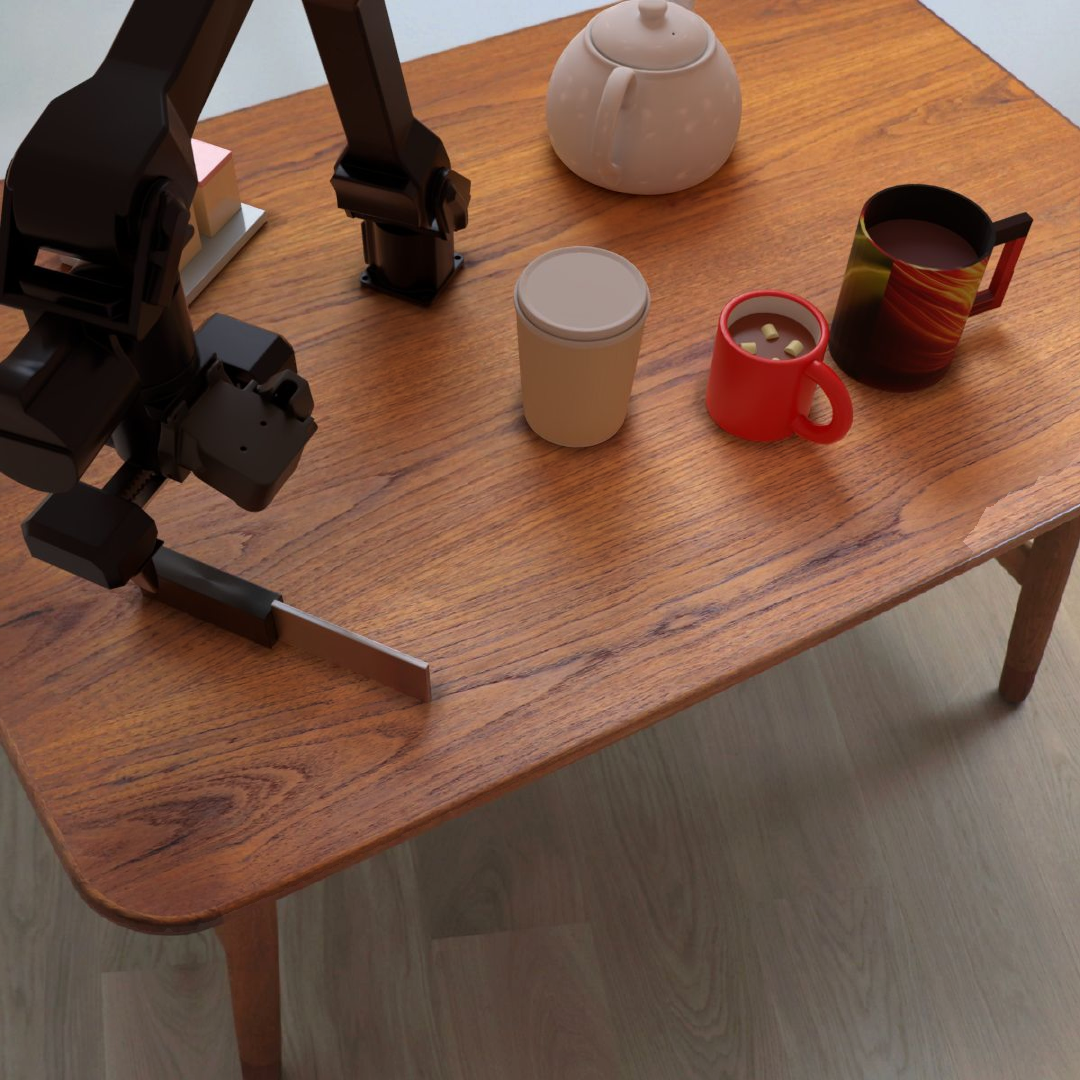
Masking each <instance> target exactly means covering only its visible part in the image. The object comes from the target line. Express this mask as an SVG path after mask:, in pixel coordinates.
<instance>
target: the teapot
mask: <svg viewBox="0 0 1080 1080" xmlns="http://www.w3.org/2000/svg"><path fill="white" fill-rule="evenodd" d="M695 8H696V7H695V0H626V1H625V0H624V1H622V2H619V3H617V4H615V5H613V6H610V7H608V8H606V9H603V10H602V11H600V12H598V13H597V14H596V15H595V16H593V17H592V18H591V19H590V20H589V22H588V23H587V25H586V26H585V27H584V28H582V29H581V30H580V31H579V32H578V33H577V34H576V35H575V36H574V37H573V38H572V39H571V41H570V42H569V43H568V44H567V46H566V47H565V48H564V50H563V51H562V53H561V55H560V56H559V58H558V60H557V61H556V63H555V66H554V68H553V71H552V73H551V76H550V78H549V83H548V86H547V91H546V98H545V99H546V100H545V124H546V130H547V135H548V139H549V142H550V144H551V146H552V149H553V151H554V152H555V154H556V155H557V157H558V158H559V160H560V161H561V162H562V163H563V164H564V165H565V166H566V167H567V168H568V169H569V170H570V171H571V172H573V173H574V174H575V175H576V176H578V177H580V178H581V179H583V180H584V181H587V182H588V183H591V184H593V185H595V186H597V187H602V188H604V189H607V190H610V191H614V192H619V193H624V194H631V195H641V196H642V195H645V196H646V195H647V196H649V195H650V196H651V195H664V194H672V193H677V192H680V191H684V190H687V189H689V188H693V187H695V186H697V185H699V184H702V183H703V182H705V181H706V180H708V179H709V178H711V177H712V176H713V175H714V174H716V173H717V172H718V171H719V170H720V169H721V168H722V166H723V165H724V164H725V163H726V162H727V160H728V158H729V157H730V156H731V153H732V151H733V149H734V147H735V145H736V141H737V139H738V135H739V132H740V128H741V122H742V110H743V99H742V97H743V95H742V90H741V84H740V79H739V77H738V73H737V70H736V67H735V65H734V63H733V60H732V59H731V57H730V55H729V53H728V52H727V49H726V48H725V47H724V45H723V44H722V43H721V41H720V40H719V38H717V36H716V34H715V31H714V30H713V28H712V26H711V25H709V23H708V22H707V21H706V20H704V18H702V17H701V16H700V15H699V14H697V13H696V11H695Z"/></svg>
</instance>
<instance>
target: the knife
mask: <svg viewBox="0 0 1080 1080" xmlns="http://www.w3.org/2000/svg"><path fill="white" fill-rule="evenodd" d="M153 560H154V564H155V567H156V571H157V574H158V582H159V589H158V590H157V591H156V593H153V592H151V591H148V590H146V589H144V588H142V587H140V586H139V585H138V587H139V588H140V592H141V595H142V596H144V597H146V598H149V599H152V600H153V601H155V602H159V603H161V604H163V605H166V606H167V607H170V608H173V609H175V610H177V611H180V612H182V613H184V614H187V615H189V616H191V617H193V618H196V619H198V620H201V621H203V622H205V623H207V624H211V625H212V626H215V627H217V628H220V629H222V630H224V631H227V632H229V633H231V634H233V635H236V636H238V637H241V638H243V639H244V640H248V641H250V642H252V643H255V644H257V645H259V646H262V647H264V648H266V649H269V650H272V649H273V648H274V646H275V645H276V644H277V642H278V641H280V642H282V643H283V644H284V643H285V644H287V645H289V646H291V647H294V648H296V649H298V650H301V651H304V652H306V653H308V654H310V655H313V656H315V657H318V658H319V659H322V660H325V661H327V662H330V663H332V664H335V665H337V666H338V667H342V668H344V669H346V670H349V671H351V672H352V673H356V674H358V675H360V676H363V677H365V678H367V679H370V680H372V681H375V682H376V683H379V684H381V685H384V686H387V687H388V688H391V689H393V690H395V691H398V692H401V693H403V694H405V695H407V696H410V697H412V698H415V699H416V700H418V701H422V702H425V703H426V704H430V701H431V699H432V685H431V671H430V670H431V669H430V663H428V662H425V661H423V660H421V659H419V658H417V657H414V656H411V655H409V654H407V653H405V652H402V651H399V650H397V649H395V648H392V647H390V646H388V645H386V644H383V643H381V642H378V641H376V640H373V639H372V638H369V637H366V636H363V635H361V634H358V633H356V632H354V631H352V630H349V629H347V628H344V627H342V626H339V625H337V624H335V623H332V622H330V621H327V620H325V619H322V618H320V617H317V616H316V615H313V614H310V613H308V612H305V611H303V610H301V609H299V608H296V607H294V606H291V605H289V604H286V603H285V602H284V597H283V595H282V594H281V593H279V592H275V591H274V590H271V589H268V588H266V587H264V586H262V585H259V584H256V583H255V582H251V581H249V580H246V579H245V578H242V577H240V576H237V575H234V574H232V573H230V572H228V571H225V570H223V569H221V568H218V567H216V566H213V565H211V564H208V563H206V562H203V561H201V560H198V559H196V558H193V557H191V556H189V555H187V554H184V553H181V552H180V551H176V550H175V549H172V548H169V547H167V546H164V545H162V546H161V548H160V549H159V550H158V551H157V552H156V554H155V555H154V556H153Z"/></svg>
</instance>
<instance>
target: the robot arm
mask: <svg viewBox="0 0 1080 1080" xmlns="http://www.w3.org/2000/svg"><path fill="white" fill-rule="evenodd" d="M254 1H255V0H133V1H132V3H131V5H130V7H129V9H128V11H127V13H126V15H125V17H124V18H123V21H122V23H121V25H120V27H119V29H118V31H117V33H116V34H115V37H114V39H113V41H112V43H111V45H110V47H109V49H108V51H107V53H106V55H105V57H104V59H103V60H102V62H101V63H100V65H99V66H98V68H97V69H96V70H95V72H94V74H93V75H92V76H91V77H88V78H87V79H85V80H84V81H82V82H80V83H78V84H77V85H75V86H73V87H72V88H70V89H68V90H65V91H64V92H63V93H61V94H59V95H58V96H56V97H54V98H53V99H51V100H50V101H49V103H47V105H46V107H45V108H44V109H43V111H42V113H41V114H40V115H39V117H38V118H37V119H36V121H35V122H34V123H33V125H32V127H31V128H30V130H29V131H28V132H27V134H26V135H25V137H24V138H23V139H22V141H21V142H20V143H19V146H18V147H17V149H16V150H15V152H14V154H13V157H12V158H11V159H10V162H9V163H8V166H7V169H6V172H5V176H4V181H3V183H4V184H3V190H2V191H3V192H2V199H1V211H0V306H4V307H8V308H11V309H15V310H19V311H22V312H23V315H24V317H25V320H26V323H27V325H28V331H27V332H26V334H25V335H24V336H23V337H22V338H21V339H20V341H19V342H18V343H17V344H16V346H15V347H14V348H13V350H11V352H10V353H9V354H8V355H7V356H6V357H5V358H4V359H3V360H1V361H0V473H1V474H2V475H4V476H6V477H7V478H9V479H10V480H12V481H14V482H16V483H18V484H19V485H22V486H24V487H27V488H29V489H32V490H34V491H37V492H42V493H47V494H46V496H45V497H44V498H43V499H42V500H41V501H40V502H39V503H38V504H37V506H36V507H34V509H33V510H32V511H31V512H30V513H29V515H27V516H26V518H24V519H23V521H22V522H21V523H20V529H21V533H22V537H23V540H24V542H25V545H26V547H27V549H28V552H29V554H30V556H31V557H32V558H34V559H36V560H39V561H41V562H44V563H46V564H48V565H50V566H53V567H55V568H58V569H60V570H62V571H65V572H66V573H69V574H71V575H74V576H76V577H79V578H81V579H84V580H86V581H88V582H90V583H93V584H95V585H97V586H99V587H102V588H104V589H107V590H109V591H111V590H115V589H119V588H123V587H125V586H127V584H128V583H129V582H130V581H131V582H133V583H134V584H136V585H137V586H138V587H139V586H140V587H142V588H144V589H146V590H148V591H151V592H153V593H156V591H157V590H158V589H159V582H158V574H157V571H156V567H155V564H154V560H153V556H154V555H155V554H156V552H157V551H158V550H159V549H160V548H161V546H164V544H165V541H164V540H163V539H161V538H158V535H159V531H158V527H157V524H156V521H155V520H154V518H153V517H152V516H151V515H149V514H148V513H147V512H146V511H145V510H146V509H147V508H148V506H149V505H150V504H151V503H152V502H153V501H154V499H155V498H156V497H157V496H158V494H159V493H160V492H161V491H162V490H163V488H164V487H166V486H167V484H168V482H169V481H170V480H171V481H174V482H177V483H179V484H183V483H184V481H186V480H187V478H188V477H189V475H190V474H191V473H192V474H193V475H194V476H195V477H196V479H198V480H200V481H201V482H203V483H204V484H206V485H208V486H209V487H210V488H212V489H214V490H215V491H217V492H218V493H220V494H221V495H223V496H224V497H227V498H228V499H229V500H231V501H232V502H234V503H235V505H236V506H237V507H239V508H241V510H245V511H247V512H250V513H259V512H262V511H264V510H266V509H267V508H268V507H269V505H270V504H271V503H272V502H273V500H274V499H275V498H276V496H277V494H278V493H279V492H280V490H281V489H282V488H283V487H284V485H285V484H286V483H287V481H288V480H289V479H290V477H291V476H293V474H294V473H295V472H296V470H297V468H298V465H299V463H300V461H301V457H302V455H303V452H304V450H305V447H306V446H307V444H308V443H309V442H310V440H311V439H312V437H313V436H314V435H315V433H316V432H317V431H318V429H319V426H318V424H317V422H316V421H315V417H313V416H312V414H313V411H314V409H315V401H314V398H313V394H312V391H311V387H310V384H309V381H308V380H307V379H306V378H304V377H303V376H301V375H299V372H298V366H297V365H298V364H297V361H296V360H297V359H296V353H295V349H294V348H293V345H292V344H291V343H290V342H289V341H288V340H287V338H286V337H285V336H284V335H283V334H280V333H278V332H275V331H273V330H269V329H266V328H265V327H261V326H259V325H256V324H253V323H251V322H247V321H245V320H242V319H239V318H236V317H233V316H230V315H228V314H224V313H220V312H215V313H213V314H211V315H210V316H208V317H207V318H206V319H204V321H202V323H201V324H200V325H199V326H198V327H197V328H196V329H195V330H194V326H193V322H192V318H191V314H190V310H189V305H188V306H187V302H186V297H185V293H184V289H183V285H182V281H181V277H180V273H179V263H180V259H181V255H182V251H183V249H184V248H185V247H186V245H187V244H188V243H189V241H190V240H191V239H192V237H193V236H194V233H195V229H194V226H193V225H192V224H189V220H190V217H191V213H190V207H191V204H192V201H193V198H194V195H195V192H196V190H197V186H198V176H197V171H196V165H195V160H194V155H193V149H192V144H191V138H193V135H194V133H195V130H196V127H197V125H198V121H199V119H200V116H201V114H202V112H203V109H204V108H205V106H206V104H207V101H208V99H209V97H210V95H211V93H212V90H213V89H214V87H215V84H216V82H217V80H218V78H219V76H220V73H221V71H222V69H223V67H224V65H225V63H226V61H227V58H228V56H229V54H230V52H231V50H232V48H233V46H234V44H235V42H236V39H237V38H238V35H239V33H240V31H241V28H242V26H243V24H244V22H245V20H246V18H247V15H248V14H249V12H250V9H251V8H252V5H253V3H254ZM300 2H301V4H302V7H303V11H304V13H305V16H306V19H307V22H308V25H309V28H310V32H311V34H312V38H313V41H314V44H315V47H316V50H317V53H318V56H319V60H320V62H321V66H322V68H323V71H324V74H325V78H326V81H327V83H328V84H327V85H328V87H329V90H330V93H331V95H332V99H333V102H334V105H335V108H336V111H337V113H338V114H337V115H338V117H339V121H340V124H341V127H342V129H343V133H344V136H345V140H344V142H343V144H342V147H341V149H340V151H339V154H338V156H337V158H336V161H335V162H334V165H333V174H332V175H331V178H330V179H329V183H330V185H331V186H332V188H333V190H334V192H335V198H336V206H337V207H336V208H337V209H340V210H343V211H344V212H345V215H346V217H347V218H349V219H355V218H356V219H359V220H362V221H361V222H360V232H361V234H360V235H361V242H362V252H363V253H362V254H363V261H364V264H366V265H368V266H367V267H365V270H363V272H362V273H361V274H360V276H359V277H358V279H359V284H360V286H363V287H365V288H368V289H371V290H374V291H376V292H380V293H383V294H386V295H389V296H391V297H394V298H397V299H400V300H403V301H406V302H408V303H411V304H415V305H418V306H421V307H423V308H429V307H431V306H433V304H434V303H435V302H436V300H437V299H438V298H439V296H440V295H441V294H442V293H443V291H444V290H445V288H446V287H447V286H448V284H449V283H450V282H451V281H452V279H453V278H454V277H455V275H456V274H457V273H458V272H459V270H460V269H461V268H462V266H463V265H464V263H465V256H464V255H463V254H461V253H458V252H455V233H457V232H458V231H462V230H465V229H466V228H467V227H468V225H469V206H470V202H471V199H472V195H471V188H472V180H471V179H469V178H467V176H464V175H462V174H461V173H459V172H457V171H456V170H454V169H452V164H451V159H450V157H449V155H448V152H447V150H446V148H445V145H444V142H443V140H442V138H441V137H440V136H439V135H438V134H437V133H435V132H434V131H433V130H432V129H430V128H429V127H428V126H426V124H424V123H423V122H422V121H420V119H418V118H417V117H416V116H414V113H413V109H412V105H411V101H410V97H409V93H408V89H407V88H408V87H407V85H406V81H405V77H404V72H403V69H402V65H401V61H400V56H399V51H398V47H397V44H396V39H395V37H394V36H395V35H394V32H393V27H392V24H391V20H390V16H389V12H388V7H387V4H386V0H300ZM40 250H41V251H44V252H45V251H46V252H49V253H53V254H56V255H59V254H60V255H64V256H68V257H72V258H76V259H79V261H78V262H77V263H76V264H75V266H74V267H73V266H72V268H71V269H70V270H69V272H68V273H67V272H64V271H60V270H57V269H56V270H55V269H52V268H48V267H44V266H40V265H36V261H37V258H38V256H39V251H40ZM60 255H59V256H60ZM104 446H107V447H109V448H111V449H114V450H115V452H116V454H117V456H118V457H119V458H120V459H121V460H122V461H123V463H122V465H121V466H120V467H119V468H118V469H117V470H116V472H115V473H114V474H113V475H112V476H111V477H110V478H109V480H107V482H106V483H105V484H104V485H103V487H102V488H98V487H97V486H94V485H91V484H89V483H87V482H84V481H81V479H82V477H83V476H84V474H85V473H86V472H87V470H88V469H89V467H90V466H91V465H92V464H93V462H94V460H95V459H96V457H98V455H99V454H100V452H101V450H102V449H103V448H104ZM140 587H139V588H140Z"/></svg>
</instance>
